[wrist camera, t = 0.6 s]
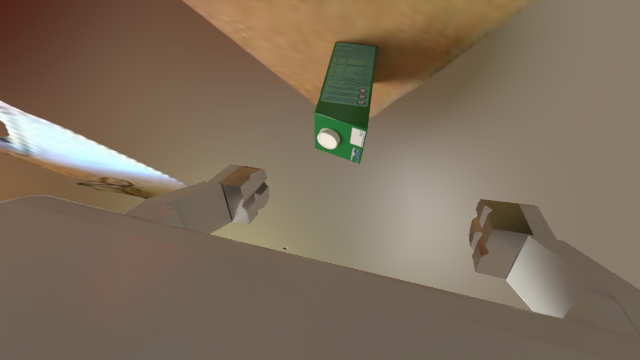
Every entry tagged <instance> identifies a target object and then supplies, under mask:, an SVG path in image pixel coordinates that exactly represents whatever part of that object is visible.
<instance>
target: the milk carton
mask: <svg viewBox="0 0 640 360" xmlns="http://www.w3.org/2000/svg"><path fill="white" fill-rule="evenodd" d="M376 55H377V47H376V46H367V45H358V44H348V43H339V42H335V45H334V49H333V52H332V55H331V59H330V62H329V66H328V69H327V72H326V76H325V79H324V83H323V86H322V89H321V93H320V96H319V99H318V103H317V106H316V110H315V148H317V149H320V150H323V151H325V152H328V153H331V154H333V155H336V156H339V157H342V158H345V159H348V160H350V161H353V162H356V163H358V164H359V163H360V161H361V156H362V152H363V147H364V143H365V138H366V133H367V128H368V120H369V112H370V104H371V96H372V88H373V80H374V72H375V63H376Z"/></svg>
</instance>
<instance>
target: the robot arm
mask: <svg viewBox="0 0 640 360" xmlns="http://www.w3.org/2000/svg"><path fill="white" fill-rule="evenodd" d="M266 179H267V177H266V172H265V171H264V170H263V169H260V168H254V167H248V166H242V165H229V166H228V167H226V168H225V169H224V170H223V171H221V172H220V173H219V174H217V175H216V176H215V177H213V178H212V179H211V180H209V181H208V182H206V181H204V182H201V183H198V184H195V185H191V186H188V187H185V188H181V189H178V190H175V191H172V192H168V193H165V194H162V195H159V196H155V197H152V198H149V199H146V200H145V201H143V202H142V203H140V204H139V205H137V206H136V207H134V208H133V209H131V210H130V211H128V212H126V213H125V214H122V213H118V212H114V211H110V210H105V209H101V208H97V207H92V206H89V205H85V204H80V203H76V202H72V201H68V200H64V199H60V198H56V197H52V196H47V195H33V196H27V197H21V198H16V199H11V200H6V201H2V202H0V360H640V290H639V289H638V288H636V287H635V286H633V285H632V284H630V283H629V282H627V281H626V280H624V279H622V278H621V277H619V276H618V275H616V274H615V273H613V272H611V271H610V270H608V269H607V268H605V267H604V266H602V265H600V264H599V263H597V262H596V261H594V260H593V259H591V258H590V257H588V256H586V255H585V254H583V253H582V252H580V251H579V250H577V249H576V248H574V247H573V246H571V245H569V244H568V243H566V242H565V241H562V240H557V238H556V237H555V235H554V233H553V232H552V230H551V228H550V227H549V225H548V224H547V222H546V220H545V218H544V217H543V215H542V213H541V212H540V210H539V208H538V207H537V206H535V205H528V204H519V203H509V202H500V201H492V200H482V199H481V200H480V201H479V203H478V205H477V208H476V211H477V215H478V216H477V217H476V218H474V219H473V220H472V223H471V227H470V233H469V241H470V246H471V247H472V248H473V249H474V253H473V255H472V257H473V262H474V267H475V272H478V273H483V274H487V275H491V276H495V277H499V278H504V279H506V281H507V282H508V283H509V284H510V285H511V287H512V288H513V289H514V290H515V291H516V292H517V293H518V295H519V296H520V297H521V298H522V299H523V300H524V301H525V303H526V304H527V305H528V306H529V307H530V308H531V309H532V311H529V310H525V309H521V308H517V307H512V306H508V305H504V304H500V303H496V302H491V301H487V300H482V299H479V298H474V297H470V296H466V295H462V294H457V293H454V292H449V291H445V290H441V289H437V288H433V287H428V286H424V285H420V284H416V283H411V282H407V281H403V280H399V279H395V278H391V277H386V276H382V275H378V274H374V273H370V272H366V271H361V270H357V269H353V268H349V267H344V266H340V265H336V264H332V263H328V262H323V261H319V260H315V259H311V258H306V257H302V256H298V255H294V254H290V253H286V252H281V251H277V250H273V249H269V248H265V247H261V246H256V245H252V244H248V243H244V242H240V241H235V240H231V239H227V238H222V237H219V236H214V235H210V233H212V232H214V231H216V230H217V229H219V228H221V227H223V226H225V225H227V224H228V223H230V222H232V221H236V222H242V223H247V224H250V223H251V222H252V220H253V219H254V218H255V217H256V216H257V214H258V211H257V210H259V209H261V208H263V207H264V206H265V205H266V203H267V201H268V198H269V188H268V186H267V185H266V183H265V180H266Z"/></svg>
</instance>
